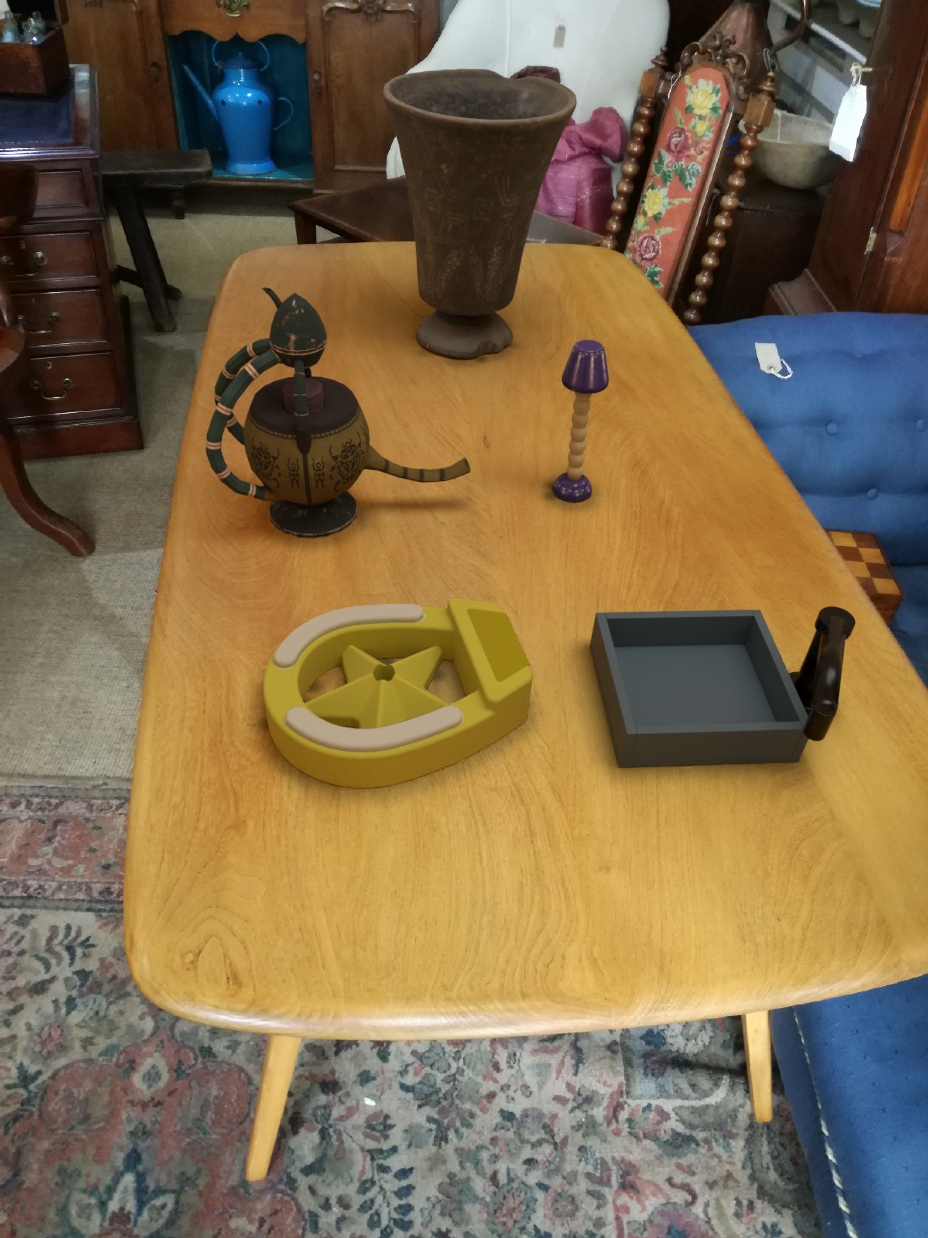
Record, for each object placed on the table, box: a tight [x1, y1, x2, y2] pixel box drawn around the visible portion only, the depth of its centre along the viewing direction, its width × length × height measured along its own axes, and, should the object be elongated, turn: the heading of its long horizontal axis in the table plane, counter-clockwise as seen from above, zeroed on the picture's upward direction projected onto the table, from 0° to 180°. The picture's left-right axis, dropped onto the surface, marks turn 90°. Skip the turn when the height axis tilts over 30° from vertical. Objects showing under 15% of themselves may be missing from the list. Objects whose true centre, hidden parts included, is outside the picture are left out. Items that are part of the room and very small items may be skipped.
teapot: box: [205, 287, 472, 540], centre depth 88 cm, size 12×25×23 cm, turn 96°
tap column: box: [788, 630, 821, 716], centre depth 77 cm, size 4×4×8 cm
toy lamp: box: [552, 339, 610, 503], centre depth 95 cm, size 5×5×17 cm
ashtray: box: [262, 597, 534, 789], centre depth 76 cm, size 16×21×5 cm
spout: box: [803, 605, 856, 742], centre depth 71 cm, size 12×3×3 cm, turn 159°
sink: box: [589, 609, 810, 768], centre depth 77 cm, size 15×14×4 cm
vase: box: [382, 68, 578, 359], centre depth 115 cm, size 22×22×30 cm
